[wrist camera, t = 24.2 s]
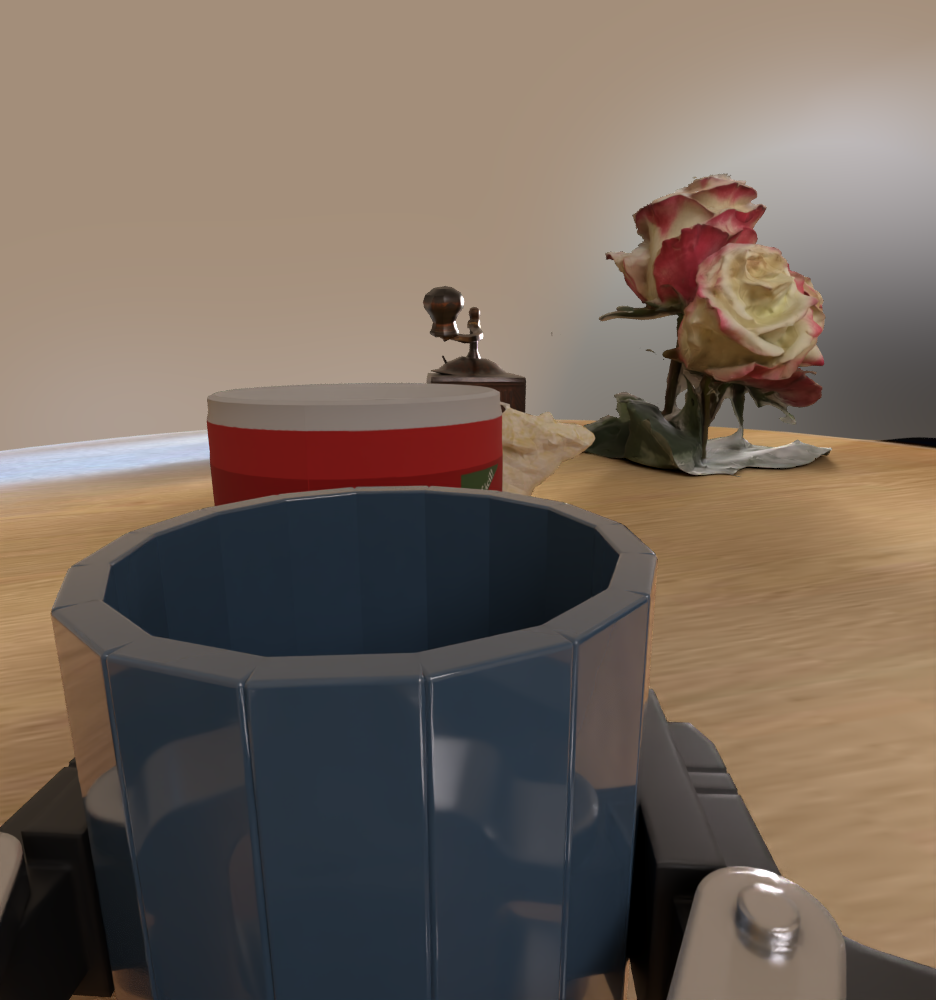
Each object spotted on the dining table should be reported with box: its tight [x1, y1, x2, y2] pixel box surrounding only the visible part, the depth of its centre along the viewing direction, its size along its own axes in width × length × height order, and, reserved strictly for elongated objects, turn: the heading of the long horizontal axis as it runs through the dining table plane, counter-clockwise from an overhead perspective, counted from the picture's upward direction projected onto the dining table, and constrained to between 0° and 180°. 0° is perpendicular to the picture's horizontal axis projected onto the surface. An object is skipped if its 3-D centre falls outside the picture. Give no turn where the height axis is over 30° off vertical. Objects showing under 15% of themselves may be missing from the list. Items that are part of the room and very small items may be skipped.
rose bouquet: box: [551, 174, 832, 483], centre depth 70 cm, size 26×29×30 cm
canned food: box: [207, 383, 503, 506], centre depth 19 cm, size 8×8×11 cm
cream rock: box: [500, 402, 595, 496], centre depth 40 cm, size 15×7×15 cm
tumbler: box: [51, 486, 658, 1000], centre depth 8 cm, size 6×6×10 cm
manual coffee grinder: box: [423, 286, 526, 413], centre depth 68 cm, size 16×11×18 cm
